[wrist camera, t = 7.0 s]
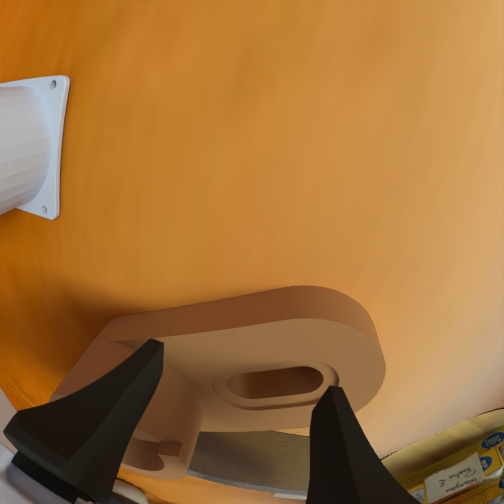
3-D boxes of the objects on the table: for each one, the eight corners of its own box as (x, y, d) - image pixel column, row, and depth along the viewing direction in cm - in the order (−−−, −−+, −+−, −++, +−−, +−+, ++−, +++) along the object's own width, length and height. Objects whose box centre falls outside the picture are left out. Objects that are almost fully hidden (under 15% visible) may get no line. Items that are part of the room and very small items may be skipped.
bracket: (139, 399, 20) (107, 465, 14) (83, 319, 17) (26, 386, 11) (377, 379, 16) (394, 473, 10) (368, 266, 13) (412, 376, 7)
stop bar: (124, 410, 21) (102, 452, 17) (119, 384, 20) (92, 431, 15) (308, 458, 21) (306, 505, 16) (328, 439, 19) (328, 492, 15)
